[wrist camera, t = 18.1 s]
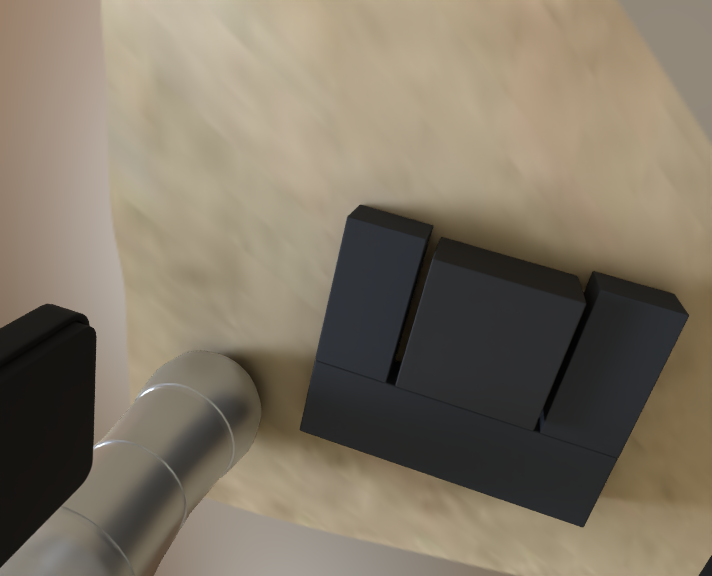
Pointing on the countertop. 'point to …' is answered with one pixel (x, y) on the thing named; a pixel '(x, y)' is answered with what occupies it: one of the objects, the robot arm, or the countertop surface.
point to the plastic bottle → (149, 472)
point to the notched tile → (468, 428)
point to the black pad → (490, 332)
